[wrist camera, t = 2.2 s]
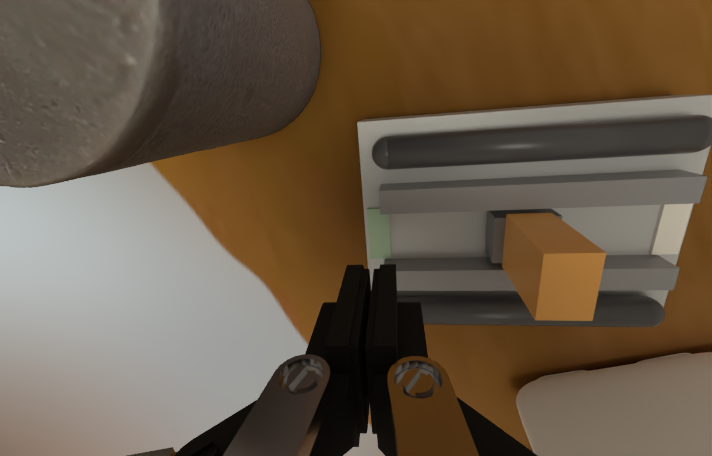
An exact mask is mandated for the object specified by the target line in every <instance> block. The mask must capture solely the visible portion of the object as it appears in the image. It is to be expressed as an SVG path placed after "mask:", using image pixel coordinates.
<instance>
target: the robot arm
mask: <svg viewBox="0 0 712 456" xmlns="http://www.w3.org/2000/svg"><path fill="white" fill-rule="evenodd" d="M369 403H370V411H371V422H372V432H373V434H377V438H378V448H379V449H380V450H381V451H382V452H383V453H384V455H385V456H537V455H536V454H535V453H533V452H532V451H530V450H529V449H528V448H526V447H525V446H524V445H522V444H521V443H519V442H518V441H517V440H515V439H514V438H513V437H511V436H510V435H508V434H507V433H506V432H504V431H503V430H502V429H500V428H499V427H497V426H496V425H495V424H493V423H492V422H491V421H489V420H488V419H486V418H485V417H484V416H482V415H481V414H480V413H478V412H477V411H475V410H474V409H473V408H471V407H470V406H469V405H467V404H466V403H464V402H463V401H462V400H460V399H459V398H458V397H456V395H455V392H454V389H453V387H452V384H451V382H450V379H449V377H448V374H447V373H446V371H445V369H444V368H443V367H442V366H441V365H440V364H438V363H437V362H435V361H433V360H431V359H430V358H428V355H427V347H426V340H425V332H424V324H423V316H422V309H421V302H397V277H396V264H380V269H374V272H373V281H372V289H371V282H370V270H369V269H364V266H363V265H347V267H346V271H345V274H344V278H343V281H342V285H341V288H340V292H339V296H338V299H337V302H331V303H323V305H322V307H321V310H320V313H319V316H318V319H317V322H316V325H315V327H314V330H313V333H312V336H311V339H310V342H309V345H308V348H307V351H306V354H305V355H299V356H295V357H293V358H291V359H288V360H287V361H285V362H284V363H283V364H281V365H280V366H279V367H278V369H277V370H276V371H275V372H274V374H273V376H272V377H271V379H270V381H269V382H268V384H267V386H266V387H265V389H264V390H263V392H262V393H261V395H260V397H259V398H258V400H256V401H255V402H253V403H251V404H250V405H248V406H246V407H245V408H243V409H242V410H240V411H238V412H237V413H235V414H233V415H232V416H230V417H229V418H227V419H225V420H224V421H222V422H220V423H219V424H217V425H216V426H214V427H212V428H211V429H209V430H207V431H206V432H204V433H203V434H201V435H199V436H198V437H196V438H194V439H193V440H191V441H190V442H189V443H187V444H186V445H185V446H183V447H182V448H181V449H180V450H179V451H178V452H175V451H174V449H173V447H172V448H167V449H162V450H156V451H150V452H145V453H139V454H134V455H128V456H343V455H344V454H345V453H347V452H348V451H349V450H350V449H351V448H352V447H359V437H360V433H367V427H368V415H369Z"/></svg>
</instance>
